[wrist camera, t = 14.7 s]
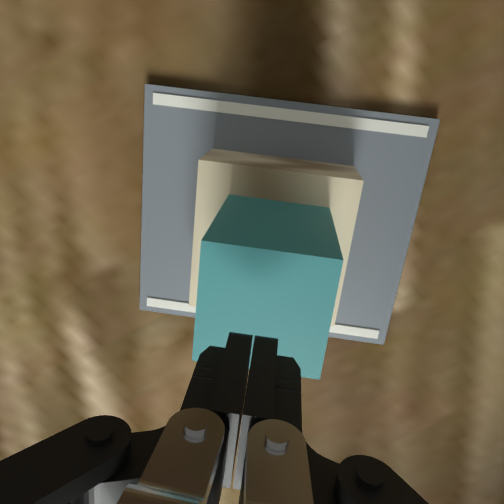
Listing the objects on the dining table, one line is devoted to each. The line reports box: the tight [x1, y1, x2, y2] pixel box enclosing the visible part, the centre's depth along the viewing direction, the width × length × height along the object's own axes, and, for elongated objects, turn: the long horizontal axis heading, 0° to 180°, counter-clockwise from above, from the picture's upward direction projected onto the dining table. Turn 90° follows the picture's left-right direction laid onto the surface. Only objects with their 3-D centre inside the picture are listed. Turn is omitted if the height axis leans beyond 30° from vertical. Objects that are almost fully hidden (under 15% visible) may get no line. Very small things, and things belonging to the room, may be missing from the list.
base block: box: [189, 148, 364, 326], centre depth 25 cm, size 8×8×4 cm
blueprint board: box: [140, 84, 440, 345], centre depth 27 cm, size 16×14×1 cm
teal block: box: [192, 194, 343, 380], centre depth 20 cm, size 5×5×7 cm
